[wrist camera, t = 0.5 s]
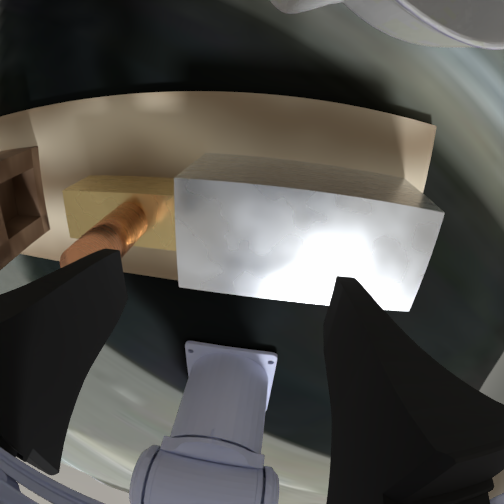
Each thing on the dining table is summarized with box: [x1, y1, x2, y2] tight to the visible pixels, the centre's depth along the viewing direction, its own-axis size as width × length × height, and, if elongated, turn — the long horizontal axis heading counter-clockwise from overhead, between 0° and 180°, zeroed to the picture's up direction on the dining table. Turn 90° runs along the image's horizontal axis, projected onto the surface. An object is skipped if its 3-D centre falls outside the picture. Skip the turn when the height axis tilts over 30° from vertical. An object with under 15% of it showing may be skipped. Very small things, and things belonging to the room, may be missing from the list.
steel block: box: [174, 153, 445, 311], centre depth 16 cm, size 6×12×6 cm, turn 86°
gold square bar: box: [60, 175, 176, 268], centre depth 14 cm, size 3×19×8 cm, turn 86°
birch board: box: [0, 91, 436, 280], centre depth 19 cm, size 13×33×1 cm, turn 86°
